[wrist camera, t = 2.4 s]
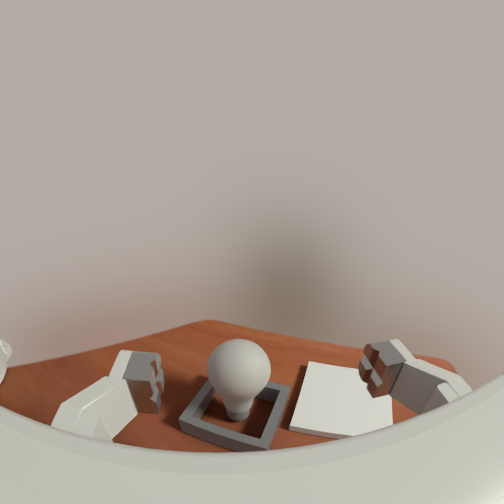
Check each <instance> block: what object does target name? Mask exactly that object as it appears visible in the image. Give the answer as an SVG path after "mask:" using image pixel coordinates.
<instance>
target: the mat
mask: <svg viewBox="0 0 504 504" xmlns="http://www.w3.org/2000/svg"><path fill="white" fill-rule="evenodd" d="M366 387H367V383H365V382H363V381H362V380H361V378H360V375H359V369H352V368H346V367H339V366H333V365H327V364H321V363H316V362H310V361H309V363H308V367H307V371H306V374H305V378H304V381H303V385H302V388H301V392H300V395H299V398H298V401H297V405H296V408H295V411H294V414H293V417H292V420H291V423H290V427H289V430H290V431H295V432H300V433H305V434H311V435H316V436H322V437H329V438H336V439H343V438H348V437H352V436H356V435H360V434H363V433H367V432H371V431H374V430H377V429H381V428H384V427H387V426H390V425H393V422H392V401H391V396H389V395H390V394H389V395H385V396H381V397H376V398H372V397H371V395H370V393H369V392H368V390H367V388H366Z"/></svg>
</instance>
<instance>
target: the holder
mask: <svg viewBox="0 0 504 504" xmlns="http://www.w3.org/2000/svg"><path fill="white" fill-rule="evenodd" d="M289 392H290V386H286V385H281V384H277V383H272V382H268V383H267V384H266V386H265V388H264V389H263V390H262V391H261V392H260V393H259V394H258V395H256V396H255V397H254V398H258V399H262V400H266V401H270V402H274V403H275V405H274V407H273V410H272V412H271V415H270V417H269V420H268V422H267V424H266V427H265V429H264V431H263V434H262V436H261V438H260V439H259V438H255V437H252V436H248V435H245V434H241V433H238V432H235V431H232V430H229V429H225V428H222V427H219V426H217V425H214V424H211V423H208V422H205V421H203V420H200V419H201V417H202V416H203V414H204V413H205V411H206V410H207V408H208V407H209V405H210V404H211V402H212V401H213V399H214V398H215V396H216V395H217V393H218V392H217V391H216V390H215V389H214V387H213V386H212V385H211V383H210V380H209V378H208V380H207V381H206V382H205V384H204V385H203V387H202V388H201V389H200V391H199V392H198V393H197V395H196V396H195V397H194V399H193V400H192V401H191V403H190V404H189V405H188V407H187V408H186V409H185V411H184V412H183V413H182V415H181V416H180V417H179V424H180V428H181V431H182V432H184V433H187V434H189V435H191V436H194V437H196V438H199V439H201V440H204V441H207V442H209V443H212V444H215V445H218V446H221V447H224V448H227V449H230V450H233V451H236V452H252V451H266V450H269V449H270V446H271V444H272V441H273V439H274V436H275V434H276V431H277V428H278V426H279V423H280V420H281V418H282V415H283V412H284V409H285V407H286V404H287V401H288V397H289Z"/></svg>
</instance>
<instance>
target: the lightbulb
mask: <svg viewBox="0 0 504 504" xmlns="http://www.w3.org/2000/svg"><path fill="white" fill-rule="evenodd" d="M270 373H271V367H270V362H269V359H268V357H267V355H266V353H265V352H264V351H263V349H262V348H261V347H259V346H258V345H257V344H255V343H253V342H251V341H248V340H243V339H233V340H229V341H226V342H224V343H222V344H221V345H219V346H218V347H217V348H216V349H215V350H214V351H213V352H212V354H211V355H210V358H209V360H208V365H207V375H208V378H209V380H210V383H211V385H212V386H213V387H214V389H215V390H216V391H217V392H218V393H219V394H220V395H221V396H222V398H223V402H224V405H225V407H226V412H227V416H228V417H229V418H230V419H231V420H234V421H243V420H245V419H246V418H247V417H248V415H249V411H250V408H251V406H252V404H253V399H254V397H255V396H256V395H258V394H259V393H260V392H261V391H262V390H263V389H264V388H265V386H266V384H267V383H268V380H269V378H270Z"/></svg>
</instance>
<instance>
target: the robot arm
mask: <svg viewBox="0 0 504 504" xmlns="http://www.w3.org/2000/svg"><path fill="white" fill-rule="evenodd" d="M12 353H13V349H12V347H11V345H10V344H8V343H7V342H5V341H4V340H2V339H1V338H0V383H1V382H2V380H3V378H4V376H5V373H6V370H7V363H8V360H9V358H10V356H11V355H12ZM363 353H364V355H365V356H364V357H363V358H362V359H361V360H360V363H359V366H358V367H359V375H360V378H361V380H362V381H363V382H365V383H367V387H366V388H367V390H368V392H369V393H370V395H371V397H372V398H376V397H381V396H385V395H389V394H390V395H389V396H391V397H392V398H394V399H395V400H397V401H398V402H400V403H401V404H403V405H404V406H406V407H407V408H409V409H410V410H412V411H413V412H415V413H416V414H418V415H419V416H416V417H413V418H411V419H408V420H405V421H402V422H399V423H396V424H393V425H390V426H387V427H384V428H381V429H377V430H374V431H371V432H367V433H363V434H360V435H356V436H352V437H348V438H343V439H339V440H334V441H329V442H324V443H319V444H313V445H307V446H300V447H293V448H285V449H276V450H266V451H252V452H226V453H209V452H183V451H170V450H159V449H150V448H143V447H136V446H129V445H123V444H118V443H113V441H112V438H113V437H115V436H116V435H117V434H118V433H119V432H120V431H121V430H122V429H123V428H124V427H125V426H126V425H127V424H128V423H129V422H130V421H131V420H132V419H133V418H134V417H135V416H136V415H137V414H138V413H149V414H159V412H160V407H161V398H160V395H161V394H162V393H163V391H164V374H163V370H162V369H161V368H160V364H161V359H160V355H159V354H158V353H149V352H138V351H127V350H121V351H120V352H119V354H118V356H117V358H116V360H115V363H114V365H113V367H112V370H111V372H110V374H109V377H103V378H102V379H100V380H99V381H97V382H96V383H94V384H92V385H91V386H89V387H88V388H86V389H84V390H83V391H81V392H79V393H78V394H76V395H75V396H73V397H71V398H70V399H68V400H67V401H65V402H63V403H62V404H61V405H60V407H59V409H58V412H57V414H56V416H55V418H54V420H53V422H52V424H51V426H49V425H46V424H43V423H40V422H38V421H35V420H32V419H30V418H27V417H25V416H22V415H20V414H17V413H15V412H13V411H11V410H8V409H6V408H4V407H2V406H0V504H504V373H502V374H501V375H499V376H498V377H496V378H494V379H493V380H491V381H490V382H488V383H486V384H484V385H482V386H481V387H479V388H477V389H475V390H472V389H471V388H470V387H469V386H468V384H467V383H466V382H465V381H464V380H463V379H462V378H461V377H460V376H459V375H457V374H454V373H452V372H449V371H447V370H444V369H442V368H440V367H437V366H435V365H432V364H430V363H428V362H425V361H423V360H420V359H415V358H414V356H413V355H412V354H411V353H410V352H409V351H408V350H407V348H406V347H405V346H404V345H403V344H402V343H401V342H400V341H399V340H398V339H392V340H387V341H383V342H377V343H371V344H367V345H366V346H365V347H364V350H363ZM137 412H138V413H137Z"/></svg>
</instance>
